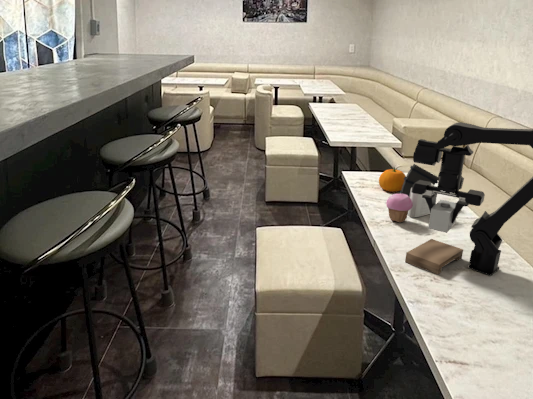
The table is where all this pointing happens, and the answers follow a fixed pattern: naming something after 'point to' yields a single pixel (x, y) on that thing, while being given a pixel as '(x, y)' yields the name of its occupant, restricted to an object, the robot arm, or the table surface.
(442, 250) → the walnut stand
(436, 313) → the table surface
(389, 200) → the cupcake
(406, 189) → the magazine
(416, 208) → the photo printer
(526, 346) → the table surface
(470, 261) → the robot arm
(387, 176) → the fruit
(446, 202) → the block
